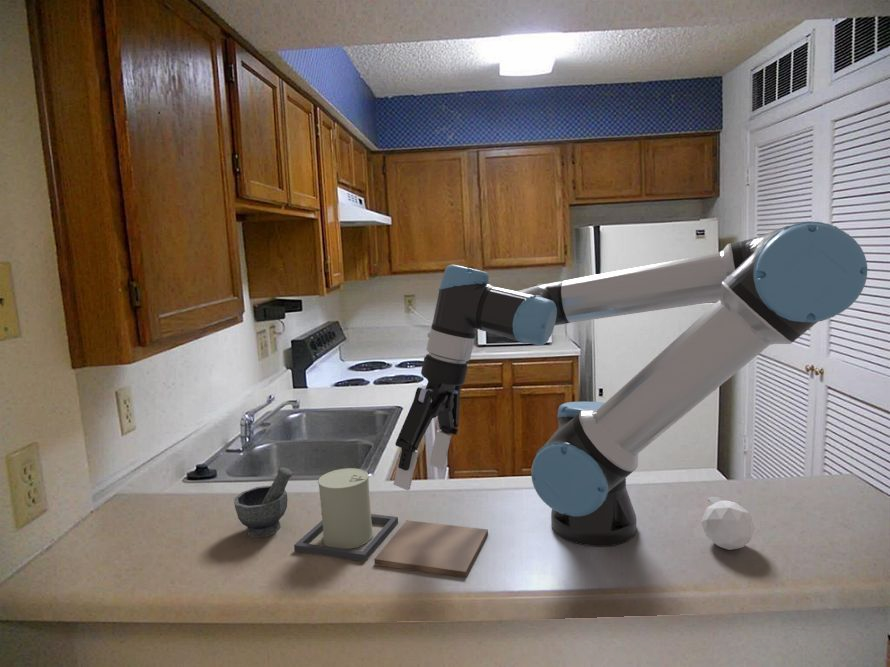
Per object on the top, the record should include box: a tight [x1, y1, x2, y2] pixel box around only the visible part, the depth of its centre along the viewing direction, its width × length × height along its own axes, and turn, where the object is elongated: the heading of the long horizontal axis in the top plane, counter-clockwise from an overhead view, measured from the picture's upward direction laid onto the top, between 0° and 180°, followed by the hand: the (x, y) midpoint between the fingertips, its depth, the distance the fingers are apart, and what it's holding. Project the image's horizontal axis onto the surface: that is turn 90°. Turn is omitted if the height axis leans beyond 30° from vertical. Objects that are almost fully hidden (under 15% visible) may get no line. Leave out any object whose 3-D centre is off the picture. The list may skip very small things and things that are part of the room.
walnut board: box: [373, 519, 489, 578], centre depth 99 cm, size 16×14×1 cm
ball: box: [701, 500, 756, 551], centre depth 95 cm, size 8×8×8 cm
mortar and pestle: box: [233, 466, 293, 539], centre depth 109 cm, size 11×9×12 cm
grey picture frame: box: [293, 513, 399, 562], centre depth 105 cm, size 14×14×1 cm
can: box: [317, 467, 374, 550], centre depth 104 cm, size 9×9×12 cm
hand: (420, 476), depth 98 cm, fingers open, 13 cm apart
